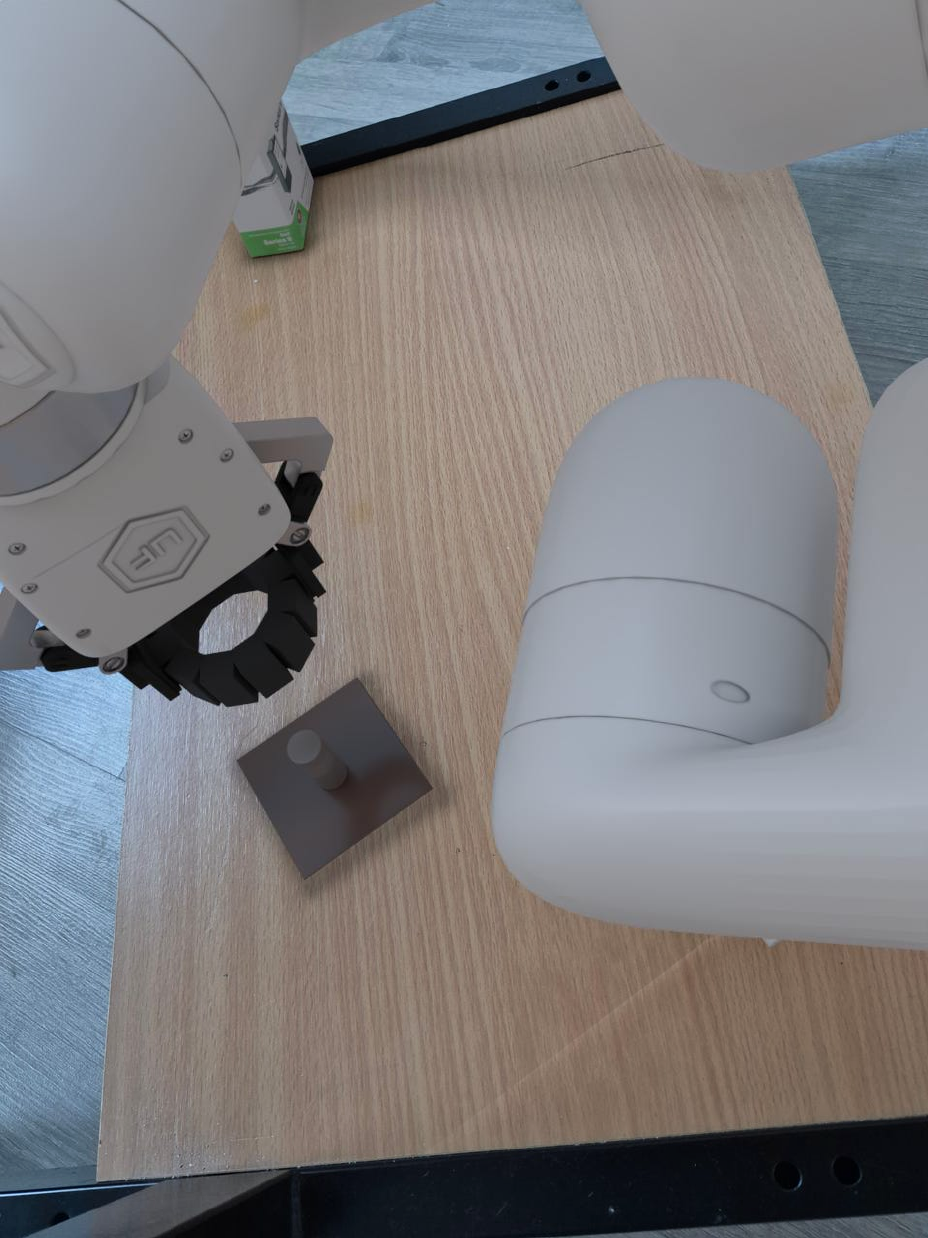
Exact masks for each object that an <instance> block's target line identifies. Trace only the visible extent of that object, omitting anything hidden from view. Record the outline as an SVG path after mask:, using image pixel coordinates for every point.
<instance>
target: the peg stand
mask: <svg viewBox="0 0 928 1238" xmlns="http://www.w3.org/2000/svg"><path fill="white" fill-rule="evenodd" d="M236 763H237V765H238V767H239V768H240V770H241V772H242V774H243V775H244V777H245V778H246V779H245V780H247V783H248V785H249V786H250V788H251V789H252V791H253V793H254V794H255V796H256V798H257V800H258V801H259V804H260V806H261V807H262V808H263V811H264V812H265V814H266V815H267V818H268V819H269V821H270V823H271V824H272V826H273V828H274V829H275V832H276V833H277V835H278V837H279V838H280V840H281V842H282V843H283V846H284V848H285V849H286V850H287V852H288V854H289V856H290V858H291V859H292V861H293V863H294V865H295V866H296V868H297V870H298V872H299V873H300V875H301V876H302V879H303V880H306V879H309V878H310V877H311V876H313V875H314V874H315V873H317V872H318V871H319V870H321V869H322V868H323V867H326V866H327V865H328V864H329V863H331V862H332V861H334V860H335V859H336V858H338V857H339V856H341V855H343V854H344V853H345V852H347V851H348V850H349V849H350V848H352V847H353V846H355V845H356V844H357V843H359V842H361V841H362V840H363V839H364V838H366V837H367V836H369V835H370V834H371V833H373V832H374V831H376V830H377V829H379V828H380V827H381V826H383V825H385V823H387V822H388V821H390V820H391V819H393V818H394V817H396V816H397V815H398V814H399V813H401V812H403V811H404V810H405V809H406V808H408V807H409V806H411V805H413V804H414V803H415V802H417V801H418V800H419V799H421V798H422V797H424V796H425V795H426V794H428V793H430V792H431V791H432V790H433V789H434V788H433V786H432V785H431V783H430V782H429V780H428V779H427V777H426V775H425V774H424V773H423V770H421V768H420V767H419V766H418V764H417V762H416V760H414V758H413V757H412V755H411V754H410V752H409V751H408V749H407V748H406V747H405V745H404V743H403V742H402V740H401V739H400V738H399V736H398V734H397V733H396V732H395V730H394V729H393V727H392V726H391V725H390V723H389V721H388V720H387V719H386V717H385V715H384V714H383V712H382V711H381V710H380V708H379V707H378V705H377V704H376V702H375V701H374V699H373V698H372V696H371V695H370V693H369V692H368V690H367V689H366V688H365V686H364V684H363V683H362V682H361V680H360V679H359V677H354V678H353V679H352V680H351V681H349V682H348V683H346V684H345V685H343V686H342V687H340V688H339V689H337V690H336V691H335V692H333V693H331V694H330V695H329V696H327V697H326V698H324V699H323V700H322V701H320V702H319V703H317V704H316V705H314V706H313V707H312V708H310V709H309V710H307V711H305V712H304V713H303V714H301V715H300V716H299V717H297V718H296V719H294V720H292V721H291V722H290V723H288V724H287V725H286V726H284V727H283V728H281V729H279V730H278V731H277V732H275V733H273V734H272V735H271V736H270V737H267V739H265V740H263V741H262V742H261V743H259V744H258V745H256V746H255V747H254V748H252V749H250V750H249V751H248V752H247V753H245V754H244V755H242V756H240V757H239V758H238V759H236Z"/></svg>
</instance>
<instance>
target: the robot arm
mask: <svg viewBox="0 0 928 1238" xmlns="http://www.w3.org/2000/svg"><path fill="white" fill-rule="evenodd" d="M439 1H441V0H0V584H1V585H3V587H2V589H1V591H0V672H5V671H6V672H7V671H9V672H10V671H30V670H33V671H34V670H36V668H42V667H44V669H45V671H47V672H49V673H59V672H68V671H74V670H76V671H77V670H83V669H89V668H91V669H92V668H98V670H99V672H100V673H101V674H103V675H107V676H108V675H109V676H111V675H115V674H117V673H119V675H121V676H122V677H124V678H125V679H126V680H128V681H129V682H130V683H131V684H132V685H134V686H135V687H136V688H137V689H139V690H140V691H142V690H144V689H145V688H147V687H148V686H149V685H150V686H151V687H153V689H155V690H156V691H157V692H158V693H160V694H161V696H163V697H164V698H166V699H167V701H169V702H173V701H174V700H176V699H177V698H178V697H179V696H181V693H180V692H182V691H183V687H182V686H181V685H180V684H179V683H177V682H176V681H175V680H174V679H173V678H172V677H170V676H169V675H168V674H167V673H166V672H165V670H164V669H163V668H161V667H160V666H159V664H158V663H157V661H156V659H155V657H154V656H153V654H152V652H151V651H150V649H149V647H148V645H147V644H146V642H145V641H147V640H148V639H147V638H146V637H145V636H147V635H148V634H150V633H151V632H153V631H154V630H156V629H157V628H159V627H160V626H162V625H163V624H165V623H166V622H168V621H169V620H171V619H172V618H173V617H175V616H176V615H178V614H179V613H181V612H182V611H184V610H185V609H187V608H188V607H190V606H191V605H193V604H194V603H195V602H197V601H198V600H200V599H201V598H203V597H204V596H206V595H207V594H208V593H210V592H211V591H213V590H214V589H216V588H217V587H219V586H220V585H221V584H223V583H224V582H226V581H227V580H228V579H230V578H231V577H233V576H234V575H235V574H237V573H238V572H240V571H241V570H243V569H244V568H245V567H247V566H248V565H250V564H251V563H252V562H254V561H255V560H256V559H258V558H259V557H260V556H262V555H263V554H264V553H266V552H267V551H268V550H269V549H270V548H272V547H274V548H276V550H278V551H279V552H280V553H281V555H282V556H283V558H284V559H285V560H286V562H287V563H288V565H289V566H290V567H291V569H292V570H293V572H294V573H295V574H296V576H297V577H298V579H299V580H300V581H301V583H302V584H303V585H304V587H305V588H306V590H307V591H308V592H309V594H310V595H311V597H312V598H314V599H315V597H316V598H317V599H319V598H321V597H322V596H323V595H325V594H326V593H327V590H326V588H325V587H324V585H323V584H322V583H321V581H320V580H319V578H318V577H317V576H316V574H315V572H314V570H315V569H317V568H319V567H320V566H321V565H323V564H324V563H325V560H323V558H322V557H321V555H320V553H319V552H318V550H317V549H316V547H315V546H314V544H313V543H312V541H311V539H310V538H311V536H312V533H313V531H312V530H313V529H312V528H311V526H310V525H309V523H308V522H309V519H310V517H311V515H312V513H313V510H314V508H315V506H316V504H317V502H318V499H319V497H320V494H321V493H322V490H323V487H324V482H323V480H322V479H321V476H322V472H325V470H326V467H327V464H328V460H329V457H330V454H331V451H332V448H333V444H334V437H333V435H332V434H331V433H330V431H329V430H328V429H327V428H326V427H325V425H324V424H323V423H322V421H321V420H320V419H318V417H316V416H304V417H291V418H278V419H265V420H252V421H238V422H232V420H230V419H229V417H228V416H227V415H226V413H225V412H224V411H223V409H222V408H221V407H220V406H219V404H218V403H217V401H216V400H215V399H214V398H213V397H212V396H211V394H210V393H209V392H208V391H207V389H206V388H205V386H203V384H202V383H200V381H199V380H198V379H197V378H196V377H195V376H194V375H193V374H192V373H191V372H190V370H188V369H187V368H186V367H185V365H183V364H182V363H181V362H180V360H178V359H177V358H176V356H175V355H173V354H172V352H173V351H174V349H175V348H176V347H177V346H178V344H179V342H180V340H181V338H182V337H183V334H184V333H185V331H186V329H187V327H188V325H189V323H190V321H191V320H192V316H193V314H194V311H195V309H196V308H197V304H198V302H199V299H200V296H201V294H202V292H203V289H204V287H205V284H206V282H207V280H208V277H209V275H210V272H211V270H212V267H213V265H214V263H215V260H216V258H217V255H218V254H219V251H220V249H221V246H222V243H223V241H224V239H225V237H226V234H227V232H228V229H229V227H230V224H231V222H232V221H233V220H232V217H233V215H234V213H235V209H236V206H237V204H238V201H239V199H240V196H241V194H242V191H243V189H244V187H245V184H246V182H247V179H248V177H249V174H250V172H251V170H252V167H253V165H254V162H255V160H256V157H257V155H258V153H259V150H260V148H261V145H262V143H263V141H264V138H265V136H266V133H267V131H268V129H269V126H270V124H271V121H272V119H273V116H274V114H275V112H276V109H277V107H278V105H279V103H280V101H281V99H283V96H284V94H285V93H286V90H287V88H288V85H289V83H290V81H291V78H292V76H293V73H294V70H295V69H296V66H298V65H299V64H301V63H302V62H303V61H305V60H306V59H307V58H309V57H311V56H313V55H315V54H316V53H318V52H320V51H322V50H323V49H325V48H327V47H329V46H331V45H333V44H335V43H338V42H339V41H342V40H344V39H346V38H348V37H351V36H353V35H355V34H358V33H361V32H363V31H365V30H368V29H370V28H372V27H375V26H377V25H380V24H381V23H384V22H386V21H389V20H391V19H394V18H396V17H398V16H400V15H404V14H405V13H408V12H411V11H414V10H417V9H418V8H421V7H424V6H427V5H431V4H434V3H437V2H439ZM572 1H573V2H575V3H576V4H578V5H579V6H581V7H582V9H583V12H584V14H585V16H586V19H587V21H588V24H589V26H590V29H591V30H592V32H593V35H594V37H595V40H596V41H597V43H598V45H599V47H600V49H601V51H602V54H603V56H604V58H605V59H606V61H607V63H608V65H609V67H610V69H611V72H612V73H613V75H614V77H615V79H616V81H617V83H618V85H619V87H620V89H621V90H622V92H623V94H624V96H625V97H626V99H627V101H628V102H629V104H630V105H631V108H633V109H634V111H635V113H636V114H637V115H638V117H639V118H640V119H641V120H642V121H643V123H644V124H645V125H646V126H647V127H648V128H649V129H650V130H651V131H652V132H653V134H655V135H656V137H657V138H658V139H659V140H660V141H661V142H662V143H663V144H664V145H665V146H666V147H667V148H668V149H669V151H672V152H673V153H675V154H676V155H677V156H680V157H682V158H683V159H685V160H687V161H689V162H691V163H692V164H694V165H696V166H698V167H700V168H702V169H707V170H713V171H718V172H723V173H729V174H735V175H736V174H737V175H738V174H747V173H757V172H759V173H760V172H766V171H770V170H773V169H777V168H780V167H785V166H788V165H792V164H797V163H800V162H804V161H807V160H811V159H815V158H818V157H822V156H825V155H828V154H832V153H836V152H840V151H842V150H846V149H849V148H850V149H851V148H854V147H857V146H861V145H866V144H870V143H873V142H877V141H881V140H886V139H888V138H892V137H896V136H900V135H904V134H909V133H913V132H916V131H920V130H924V129H927V128H928V0H572ZM279 462H282V463H281V465H280V467H279V469H278V472H277V475H276V477H275V478H274V479H273V478H272V477H271V476H270V473H268V470H267V469H266V468H265V466H264V464H271V463H279ZM855 473H856V474H855V483H854V489H853V490H854V491H853V499H852V509H851V512H852V513H851V524H850V525H851V526H850V537H849V548H848V549H849V551H848V565H847V567H848V568H847V580H846V581H847V583H846V584H847V585H846V597H845V598H846V601H845V613H844V615H845V616H844V631H843V633H844V634H843V645H842V647H843V650H842V663H841V664H842V668H841V669H842V670H841V689H840V697H839V703H838V705H837V708H836V710H835V711H834V712H833V713H832V715H831V716H830V717H829V718H827V719H826V707H827V691H828V690H827V689H828V675H829V670H830V666H831V662H832V661H831V660H832V642H833V628H834V627H833V626H834V612H835V611H834V609H835V597H836V581H837V570H838V569H837V568H838V552H839V531H840V529H839V506H838V505H839V503H838V496H837V490H836V485H835V481H834V478H833V474H832V471H831V468H830V466H829V463H828V460H827V457H826V456H825V454H824V451H823V450H822V447H821V446H820V444H819V443H818V442H817V440H816V438H815V437H814V435H813V434H812V432H811V431H810V430H809V428H808V427H807V426H806V425H805V424H804V423H803V422H802V420H801V419H799V417H798V416H796V415H795V414H794V413H793V412H792V411H791V410H790V409H789V408H787V407H786V406H785V405H783V404H782V403H781V402H779V401H778V400H776V399H775V398H773V397H772V396H769V395H767V394H765V393H764V392H762V391H760V390H758V389H756V388H753V387H751V386H748V385H745V384H743V383H740V382H736V381H732V380H728V379H724V378H719V377H708V376H678V377H672V378H666V379H660V380H657V381H653V382H650V383H646V384H643V385H640V386H638V387H636V388H634V389H631V390H629V391H627V392H625V393H623V394H622V395H620V396H618V397H617V398H615V399H613V400H611V401H610V402H609V403H608V404H607V405H605V406H603V408H601V409H600V410H599V411H598V412H596V413H595V414H594V415H593V416H592V417H591V418H590V419H589V421H587V422H586V423H585V424H584V425H583V427H582V428H581V430H580V431H579V432H578V433H577V435H576V436H575V438H574V439H573V440H572V442H571V444H570V445H569V447H568V449H567V450H566V452H565V454H564V456H563V458H562V460H561V462H560V464H559V467H558V469H557V471H556V474H555V477H554V480H553V482H552V486H551V489H550V492H549V496H548V498H547V503H546V506H545V510H544V513H543V518H542V523H541V527H540V532H539V535H538V541H537V545H536V549H535V555H534V560H533V565H532V570H531V575H530V579H529V584H528V589H527V595H526V600H525V604H524V609H523V615H522V619H521V633H520V636H519V642H518V647H517V651H516V655H515V656H516V657H515V661H514V665H513V671H512V677H511V680H510V686H509V691H508V695H507V701H506V706H505V710H504V714H503V720H502V725H501V729H500V736H499V739H498V747H497V753H496V760H495V764H494V769H493V770H494V773H493V780H492V785H491V786H492V787H491V797H490V823H491V830H492V835H493V841H494V843H495V846H496V848H497V851H498V854H499V856H500V858H501V860H502V862H503V864H504V866H506V868H507V869H508V871H509V873H510V874H511V876H513V878H515V879H516V881H518V882H519V883H520V884H521V886H523V887H524V888H525V889H526V890H528V892H529V893H532V894H533V895H535V896H536V897H537V898H540V899H541V900H543V901H544V902H546V903H548V904H549V905H552V906H554V907H555V908H558V909H560V910H563V911H565V912H567V913H571V914H575V915H578V916H580V917H583V918H584V917H585V918H588V919H592V920H595V921H599V922H604V923H607V924H614V925H618V926H619V925H620V926H625V927H630V928H631V927H632V928H637V929H638V928H639V929H645V930H656V931H664V932H673V933H684V934H685V933H686V934H693V935H694V934H695V935H706V936H707V935H709V936H721V937H722V936H724V937H736V938H737V937H738V938H751V939H761V940H762V941H763V942H764V943H765V944H766V946H767V947H768V948H769V949H772V948H773V947H774V946H776V945H778V944H779V943H780V942H782V941H791V942H803V943H818V944H830V945H831V944H832V945H845V946H857V947H868V948H869V947H871V948H872V947H873V948H884V949H897V950H910V951H923V952H924V951H925V952H928V356H927V357H926V358H923V359H922V360H920V361H918V362H916V363H915V364H912V365H911V366H910V367H908V368H907V369H906V370H904V371H903V372H901V374H900V375H899V376H898V377H896V378H895V379H894V380H893V381H892V382H891V383H890V384H889V385H888V386H887V387H886V388H885V390H884V391H883V393H882V394H881V396H880V397H879V399H878V401H877V402H876V404H875V405H874V407H873V409H872V411H871V412H870V416H869V418H868V422H867V424H866V427H865V429H864V433H863V436H862V441H861V446H860V451H859V457H858V461H857V468H856V472H855ZM39 621H40V622H41V623H42V624H43V625H41V626H39V627H37V626H38V623H39Z"/></svg>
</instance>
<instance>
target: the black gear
mask: <svg viewBox="0 0 928 1238" xmlns="http://www.w3.org/2000/svg"><path fill="white" fill-rule="evenodd" d="M257 591H258V592H261V593H264V594H266V595H267V597H266V599H267V603H266V604H267V605H266V607H267V608H266V612H265V613H264V615H263V617H262V619H261V620H260V622H259V624H258V626H257V628H256V629H255V630H254V632H253V634H251V635H250V636H248V637H247V638H246V639H244V640H242V641H241V642H240V643H238V644H237V645H235V646H234V647H232V649H228V650H223V651H216V652H210V653H202V652H200V634H201V630H202V628H203V626H204V625H205V623H206V621H207V620H208V618H209V616H210V614H211V613H212V611H213V610H215V609H216V608H217V607H218V606H220V605H221V604H222V603H224V602H225V601H227V600H229V599H230V598H231V597H233V596H234V595H239V594H240V595H241V594H245V593H251V592H257ZM315 602H316V599H315V597H314V598H312V597H311V595H310V594H309V592H308V591H307V590H306V588H305V587H304V585H303V584H302V583H301V581H300V580H299V579H298V577H297V576H296V574H295V573H294V572H293V570H292V569H291V567H290V566H289V565H288V563H287V562H286V560H285V559H284V558H283V556H282V555H281V553H280V552H279V551H278V549H275V546H273V547H272V548H270V549H269V550H268V551H267V552H266V553H264V554H263V555H262V556H260V557H259V558H258V559H256V560H255V561H254V562H252V563H251V564H250V565H248V566H247V567H245V568H244V569H243V570H241V571H240V572H238V573H237V574H235V575H234V576H233V577H231V578H230V579H228V580H227V581H226V582H224V583H223V584H221V585H220V586H219V587H217V588H216V589H214V590H213V591H211V592H210V593H208V594H207V595H206V596H204V597H203V598H201V599H200V600H198V601H197V602H195V603H194V604H193V605H191V606H190V607H188V608H187V609H185V610H184V611H182V612H181V613H179V614H178V615H176V616H175V617H173V618H172V619H171V620H169V621H168V622H166V623H165V624H163V625H162V626H160V627H159V628H157V629H156V630H154V631H153V632H151V633H150V634H148V635H147V636H145V637H146V638H147V639H148V640H147V641H145V642H146V644H147V645H148V647H149V649H150V651H151V652H152V654H153V656H154V657H155V659H156V661H157V663H158V664H159V666H160V667H161V668H163V669H164V670H165V672H166V673H167V674H168V675H169V676H170V677H172V678H173V679H174V680H175V681H176V682H177V683H179V685H180V686H181V688H182V689H184V690H185V691H186V692H188V693H189V694H190V695H191V696H192V697H195V698H197V699H200V700H201V701H204V702H207V703H209V704H211V705H214V706H215V707H220V706H221V704H222V705H224V706H225V707H226V708H232V707H238V706H245V705H251V704H258V703H259V702H260V701H259V700H260V699H259V697H260V696H259V695H261V696H262V697H263V698H264V699H269V698H270V697H271V696H273V695H274V694H276V693H277V692H279V691H280V690H282V689H283V688H284V687H286V686H287V685H289V684H290V683H291V682H293V681H294V679H295V678H294V675H292V673H291V671H294V672H296V673H301V672H302V670H303V669H304V666H305V665H306V663H307V661H308V659H309V657H310V656H311V653H312V652H313V650H314V648H315V646H316V643H315V642H314V640H313V638H317V637H318V634H319V633H318V632H319V631H318V626H319V625H318V607H317V605H316V604H315ZM290 670H291V671H290Z"/></svg>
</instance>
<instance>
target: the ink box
mask: <svg viewBox="0 0 928 1238" xmlns="http://www.w3.org/2000/svg"><path fill="white" fill-rule="evenodd" d="M314 183H315V181H314V178H313V176H312V173H311V170H310V168H309V165H308V162H307V160H306V158H305V154H304V151H303V150H302V147H301V145H300V143H299V140H298V137H297V134H296V132H295V130H294V127H293V125H292V122H291V120H290V117H289V115H288V112H287V109H286V107H285V104H284V101H283V98H281V101H280V103H279V105H278V107H277V109H276V112H275V114H274V116H273V119H272V121H271V124H270V126H269V129H268V131H267V133H266V136H265V138H264V141H263V143H262V145H261V148H260V150H259V153H258V155H257V157H256V160H255V162H254V165H253V167H252V170H251V172H250V174H249V177H248V179H247V182H246V184H245V187H244V189H243V191H242V194H241V196H240V199H239V201H238V204H237V206H236V209H235V213H234V215H233V217H232V220H231V221H233V224H234V226H235V228H236V230H237V232H238V234H239V235H240V238H241V239H242V242H243V244H244V245H245V248H246V250H247V252H248V254H249V256H250V257H251V258H257V257H264V256H270V255H277V254H284V253H289V252H295V251H301V250H303V249H304V247H305V240H306V235H307V229H308V220H309V215H310V210H311V209H310V207H311V203H312V195H313V188H314Z"/></svg>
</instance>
